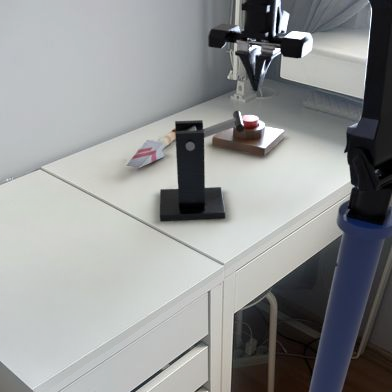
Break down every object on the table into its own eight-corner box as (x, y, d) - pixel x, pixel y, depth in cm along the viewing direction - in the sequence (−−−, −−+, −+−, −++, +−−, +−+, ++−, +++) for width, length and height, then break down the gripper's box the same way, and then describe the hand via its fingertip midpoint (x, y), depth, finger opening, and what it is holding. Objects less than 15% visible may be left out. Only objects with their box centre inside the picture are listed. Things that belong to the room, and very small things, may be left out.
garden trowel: (122, 157, 96) (170, 123, 109) (123, 171, 97) (170, 136, 111) (139, 160, 94) (186, 126, 108) (141, 174, 96) (186, 139, 110)
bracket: (221, 193, 92) (222, 114, 82) (225, 219, 85) (226, 137, 75) (160, 195, 91) (154, 116, 82) (160, 221, 85) (153, 140, 75)
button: (260, 125, 105) (261, 116, 104) (253, 131, 103) (253, 122, 102) (244, 122, 106) (245, 113, 105) (237, 128, 104) (237, 119, 103)
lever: (242, 120, 81) (238, 105, 79) (245, 134, 77) (241, 119, 75) (183, 141, 83) (178, 127, 81) (184, 155, 79) (179, 141, 77)
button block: (283, 138, 108) (285, 121, 105) (264, 156, 102) (265, 139, 99) (233, 128, 112) (234, 111, 110) (212, 145, 106) (212, 128, 104)
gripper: (329, -11, 89) (316, 84, 100) (234, -18, 96) (232, 72, 107) (306, 2, 82) (295, 103, 93) (205, -7, 89) (206, 88, 100)
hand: (256, 90), depth 98 cm, fingers closed
